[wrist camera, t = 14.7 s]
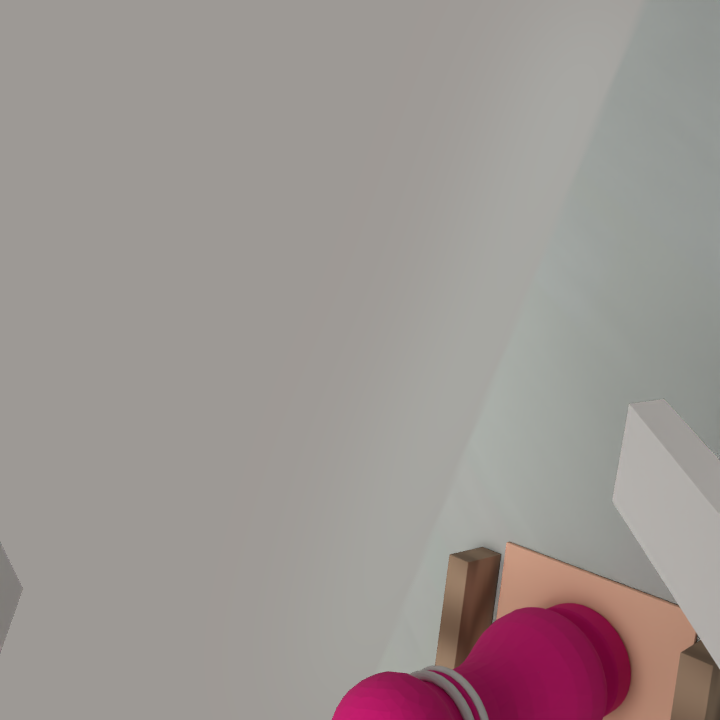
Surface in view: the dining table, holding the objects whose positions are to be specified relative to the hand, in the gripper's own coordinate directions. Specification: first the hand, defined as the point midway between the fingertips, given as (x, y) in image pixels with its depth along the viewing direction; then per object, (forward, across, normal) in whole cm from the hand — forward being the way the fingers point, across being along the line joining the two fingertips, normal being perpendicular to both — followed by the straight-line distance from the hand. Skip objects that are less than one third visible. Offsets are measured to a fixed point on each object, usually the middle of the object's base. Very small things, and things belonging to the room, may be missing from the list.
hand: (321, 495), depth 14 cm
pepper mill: (+13, +14, -27) cm, 33 cm away
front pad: (+13, +14, -27) cm, 33 cm away
